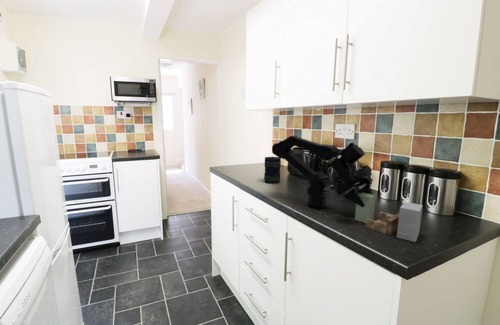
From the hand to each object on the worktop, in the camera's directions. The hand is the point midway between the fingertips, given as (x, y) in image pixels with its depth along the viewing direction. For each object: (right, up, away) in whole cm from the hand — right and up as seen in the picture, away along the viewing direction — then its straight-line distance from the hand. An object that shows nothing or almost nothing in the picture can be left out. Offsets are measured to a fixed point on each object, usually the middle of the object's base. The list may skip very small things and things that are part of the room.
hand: (369, 204), depth 98 cm
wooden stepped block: (+4, -7, -3) cm, 9 cm away
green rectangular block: (-1, -6, +2) cm, 7 cm away
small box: (+8, -9, -11) cm, 16 cm away
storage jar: (-32, +4, +61) cm, 69 cm away
